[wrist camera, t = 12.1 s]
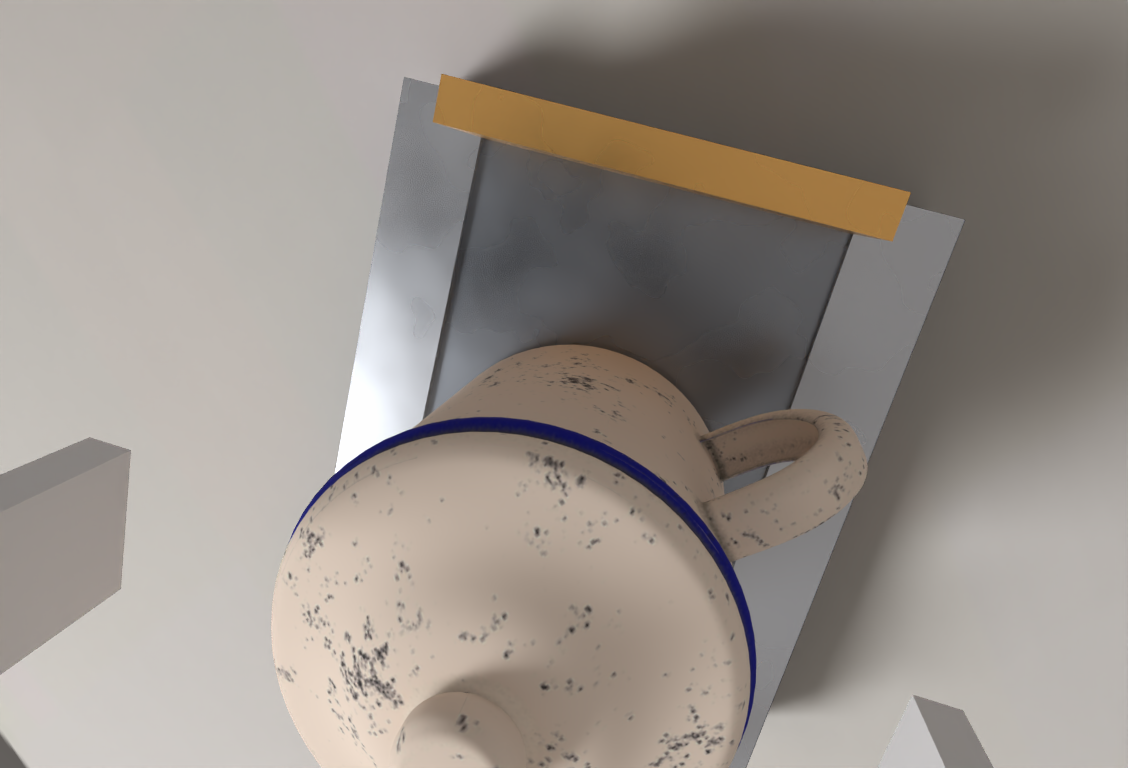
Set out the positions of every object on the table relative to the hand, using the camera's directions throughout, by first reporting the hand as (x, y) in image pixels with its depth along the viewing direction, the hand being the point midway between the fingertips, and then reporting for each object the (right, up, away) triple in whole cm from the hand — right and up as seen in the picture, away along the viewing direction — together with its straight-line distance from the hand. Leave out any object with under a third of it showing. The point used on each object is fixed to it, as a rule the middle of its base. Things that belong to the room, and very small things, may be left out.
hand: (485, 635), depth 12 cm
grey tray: (+2, +3, +12) cm, 13 cm away
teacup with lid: (+3, +2, +10) cm, 10 cm away
